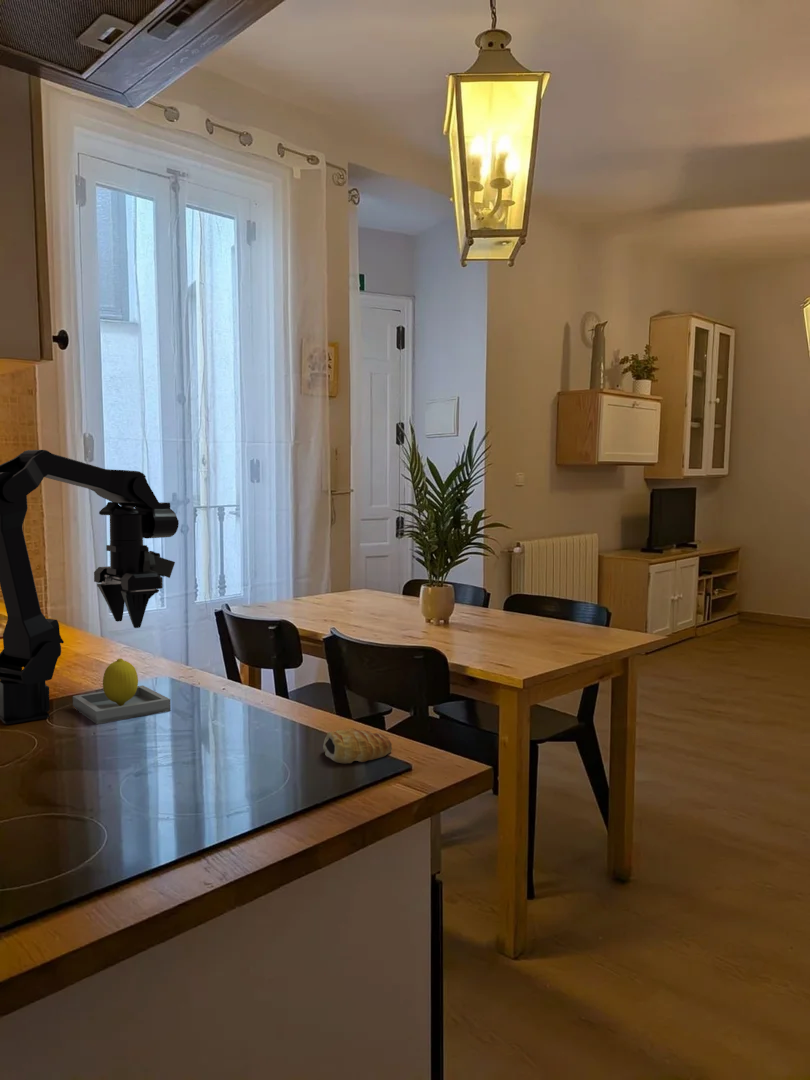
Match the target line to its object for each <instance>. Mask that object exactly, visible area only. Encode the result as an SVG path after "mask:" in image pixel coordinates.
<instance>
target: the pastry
mask: <svg viewBox="0 0 810 1080" xmlns="http://www.w3.org/2000/svg"><path fill="white" fill-rule="evenodd" d="M325 736H326V737H325V738H324V741H323V744H322V745H323V746H322V749H323V751H324V752H325V753H324V754H325V756H326V757H327V758H328V759H330V760H331V761H333V762H334V763H338V764H339V763H340V764H343V765H344V764H345V765H347V764H352V763H353V762H355V761H356V762H357V761H358V762H359V763H363V762H367V761H373V760H377V759H379V758H380V759H381V758H384V757H385V756H387V755H388V754H390V753H391V752H392V749H393V747H392V742H391V740H390V738H389V737H388V736H386V735H385V734H383V733H381V732H375V733H373V732H372V731H370V730H366V729H364V730H363V729H356V728H349V729H348V728H347V729H337V730H335V731H330V732H329V731H328V732H327V733H326V735H325Z"/></svg>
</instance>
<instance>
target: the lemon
mask: <svg viewBox="0 0 810 1080" xmlns="http://www.w3.org/2000/svg"><path fill="white" fill-rule="evenodd" d="M138 686H139V678H138V673H137V669H136V668H135V666H134V665H133V664H132V663H130V662H129V661H127V660H124V659H123V658H118V659H116V660H115V661H113V662H111V663H110V664H109V665H107V666H106V668H105V670H104V673H103V678H102V690H103V691H104V693H105V695H106V697H107V698H108V699H109V700H111V701H113V702H116V703H117V704H118V705H119V706H122V705H124V703H125V702H126V701H128V700H130V699H131V698H132V697H133V696H134V695H135V693H136V691H137V687H138Z"/></svg>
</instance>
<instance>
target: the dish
mask: <svg viewBox="0 0 810 1080" xmlns="http://www.w3.org/2000/svg"><path fill="white" fill-rule="evenodd" d="M73 706H74V707H75V708H76V709H77V710H78V711H79V712H78V711H77V710H76V711H77V712H78V713H80V714H81V713H82V714H81V715H82V716H84V717H85V718H87V719H88V720H90V721H91V722H93V723H94V724H96V725H100V724H105V723H112V722H116V721H122V720H128V719H134V718H139V717H145V716H151V715H156V714H161V713H162V714H163V713H168V712H171V710H172V709H171V708H172V707H171V699H170V698H169V697H167V696H165V695H163V694H161V693H159V692H158V691H155V690H153V689H151V688H149V687H147V686H145V685H138V687H137V691H136V693H135V695H134V696H133V697H132V698H131V699H130V700H128V701H126V702H125V703H124V705H122V706H119V705H118V704H117V703H116V702H113V701H111V700H109V699H108V698H107V697H106V695H105V693H104V690H103V691H98V692H91V693H85V694H78V695H77V694H76V695H73V696H72V707H73Z"/></svg>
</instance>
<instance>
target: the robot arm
mask: <svg viewBox="0 0 810 1080" xmlns="http://www.w3.org/2000/svg"><path fill="white" fill-rule="evenodd" d="M146 477H147V476H146V475H145V473H143V472H141V471H137V470H127V469H109V468H107V469H106V468H103V467H99V466H95V465H93V464H89V463H86V462H83V461H79V460H77V459H72V458H68V457H65V456H62V455H58V454H55V453H52V452H50V451H48V450H46V449H27V450H24V451H23V452H22V453H20V454H18V455H16V456H15V457H14V458H12V459H10V460H8V461H6V462H3V463H1V464H0V589H1V594H2V599H3V603H4V606H5V611H6V616H7V620H6V623H5V628H4V630H3V633H2V643H3V649H2V650H1V651H0V721H1V722H2V723H3V724H4V725H11V724H18V723H19V724H20V723H24V722H31V721H34V720H35V721H36V720H41V719H48V718H50V713H48V712H50V710H51V709H50V708H51V707H50V687H49V685H47V684H46V681H51V680H52V679H53V675H54V673H55V672H54V671H55V669H56V665H57V662H58V659H59V657H61V656H62V645H61V644H64V640H63V638H62V635H61V633H60V624H59V622H58V619H56V618H55V619H54V618H46V616H45V615H44V614H43V612H42V609H41V605H40V602H39V601H40V600H39V597H38V596H39V595H38V591H37V587H36V583H35V582H36V581H35V578H34V574H33V570H32V565H31V561H30V557H29V551H28V547H27V543H26V539H25V533H24V530H23V525H24V521H25V518H26V514H27V512H28V495H29V494H30V493H32V492H33V491H35V490H36V489H37V488H38V487H39V486H40V485H41V483H42V482H43V480H44V479H45V478H46V479H50V480H54V481H58V482H62V483H66V484H69V485H73V486H77V487H80V488H84V489H88V490H91V491H93V492H94V493H95V494H96V495H97V496H99V497H101V498H103V499H105V500H106V501H107V503H106V505H105V506H104V507H103V508H101V510H99V512H98V514H99V515H100V516H109V544H108V545H107V544H106V549H105V550H106V551H107V552H109V558H110V559H109V560H110V561H109V563H110V564H109V565H110V566H109V565H108V566H98V567H97V569H95V570H94V572H93V582H94V583H97V584H96V587H97V588H98V589H99V591H100V593H101V594H102V597H103V598H104V601H105V602H106V605H107V606H108V608H109V610H110V613H111V615H112V618H114V620H115V622H122V621H123V616H124V609H125V607H126V610H127V612H128V613H127V614H128V615H129V620H130V621H131V623H132V626H133V628H134V629H140V628H141V627H142V623H143V619H144V616H145V613H146V609H147V606H148V603H149V600H150V599H151V598H152V597H153V596H154V595H155V594H157V593H159V592H160V589H163V585H164V583H163V577H166V578H169V579H171V575H172V573H173V570H174V567H175V564H176V562H175V561H173V560H170V559H168V558H164V557H161V554H160V553H159V552H155V551H153V550H149V549H150V548H149V546H148V545H146V544H145V545H144V539H158V538H159V539H160V538H171V537H174V536H175V534H176V533H177V532H178V528H179V525H180V524H179V523H180V522H179V519H178V517H177V514H176V513H175V511H174V510H173V509H171V503H170V502H159V500H158V498H157V496H156V495H155V493H154V492H153V490H152V488H151V487H150V485H149V483H148V481H147V479H146ZM108 501H109V502H108Z"/></svg>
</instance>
